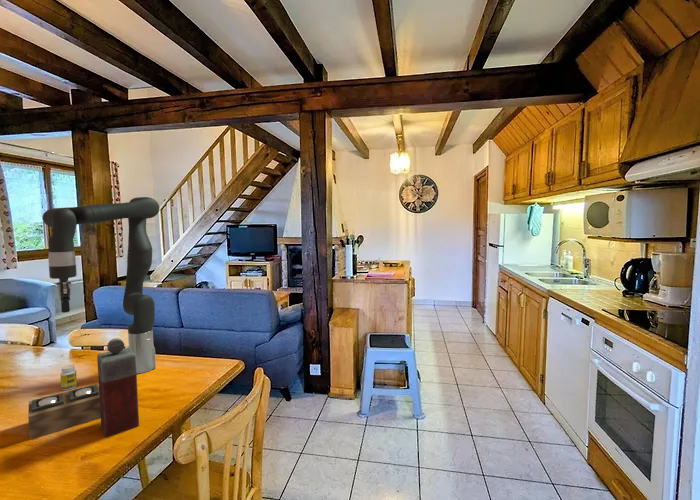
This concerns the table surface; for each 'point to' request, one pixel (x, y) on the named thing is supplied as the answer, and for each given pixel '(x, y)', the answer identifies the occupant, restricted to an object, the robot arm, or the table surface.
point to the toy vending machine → (117, 388)
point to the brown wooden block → (63, 412)
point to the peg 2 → (83, 392)
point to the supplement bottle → (68, 377)
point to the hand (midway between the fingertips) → (65, 311)
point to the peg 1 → (47, 401)
